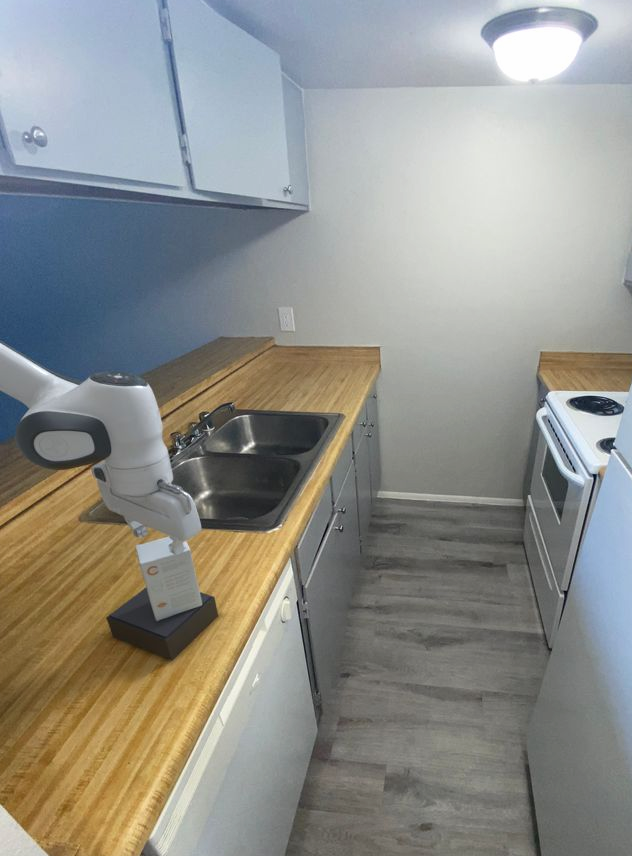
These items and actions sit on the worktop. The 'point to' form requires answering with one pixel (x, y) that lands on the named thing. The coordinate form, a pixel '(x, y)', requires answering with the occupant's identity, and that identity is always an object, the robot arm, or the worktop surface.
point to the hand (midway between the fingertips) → (158, 543)
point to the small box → (168, 578)
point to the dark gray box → (160, 625)
